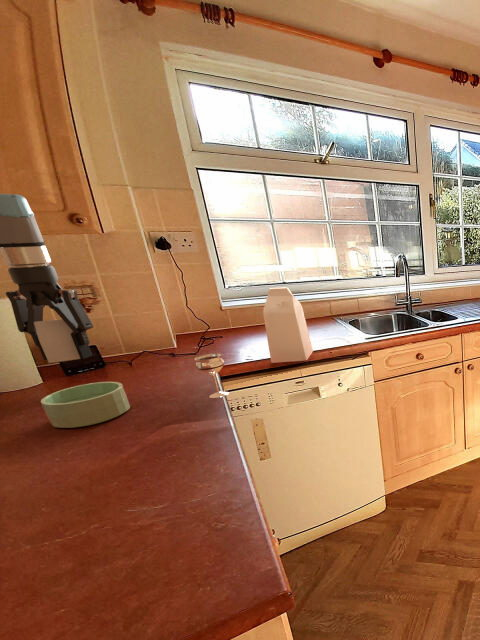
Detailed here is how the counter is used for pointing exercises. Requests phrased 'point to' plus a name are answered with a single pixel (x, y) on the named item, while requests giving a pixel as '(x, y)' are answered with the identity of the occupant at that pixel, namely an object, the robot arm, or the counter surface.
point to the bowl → (85, 404)
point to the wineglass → (211, 369)
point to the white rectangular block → (56, 340)
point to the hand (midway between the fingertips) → (68, 357)
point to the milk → (286, 327)
